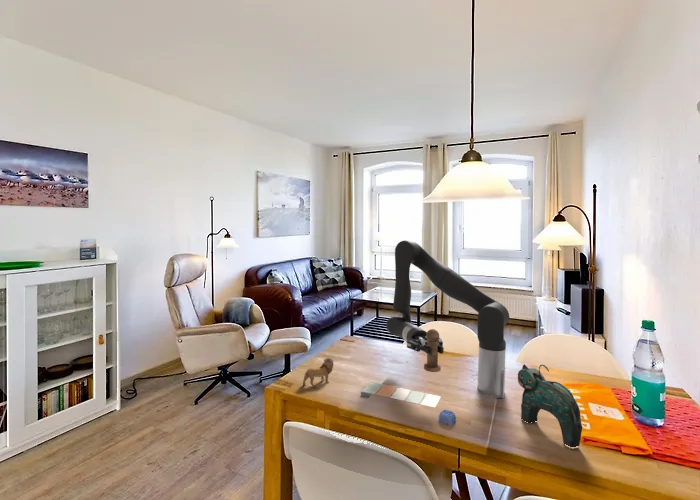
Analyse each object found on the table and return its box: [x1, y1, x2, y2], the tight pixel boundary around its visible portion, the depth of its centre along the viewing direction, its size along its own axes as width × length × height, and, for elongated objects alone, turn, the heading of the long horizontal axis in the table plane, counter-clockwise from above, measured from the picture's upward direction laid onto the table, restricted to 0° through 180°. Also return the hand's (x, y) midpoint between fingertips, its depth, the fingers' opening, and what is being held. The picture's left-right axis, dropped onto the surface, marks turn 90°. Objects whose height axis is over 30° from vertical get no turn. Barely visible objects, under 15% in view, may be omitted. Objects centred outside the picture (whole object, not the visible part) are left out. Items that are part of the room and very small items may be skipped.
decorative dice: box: [438, 409, 457, 426], centre depth 114 cm, size 4×4×4 cm
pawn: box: [423, 328, 441, 373], centre depth 126 cm, size 6×6×14 cm
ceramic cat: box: [517, 364, 583, 447], centre depth 111 cm, size 20×6×20 cm, turn 21°
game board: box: [360, 381, 442, 409], centre depth 132 cm, size 27×10×1 cm, turn 64°
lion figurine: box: [302, 357, 335, 389], centre depth 143 cm, size 15×5×9 cm, turn 132°
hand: (436, 351), depth 124 cm, fingers closed on pawn, 3 cm apart
